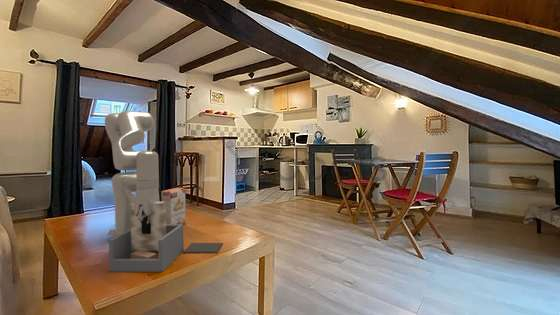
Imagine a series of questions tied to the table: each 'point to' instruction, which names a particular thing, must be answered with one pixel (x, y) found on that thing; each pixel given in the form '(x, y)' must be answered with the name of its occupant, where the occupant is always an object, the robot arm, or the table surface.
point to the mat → (203, 248)
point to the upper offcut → (143, 255)
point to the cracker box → (174, 206)
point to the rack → (167, 249)
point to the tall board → (157, 228)
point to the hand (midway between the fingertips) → (148, 231)
